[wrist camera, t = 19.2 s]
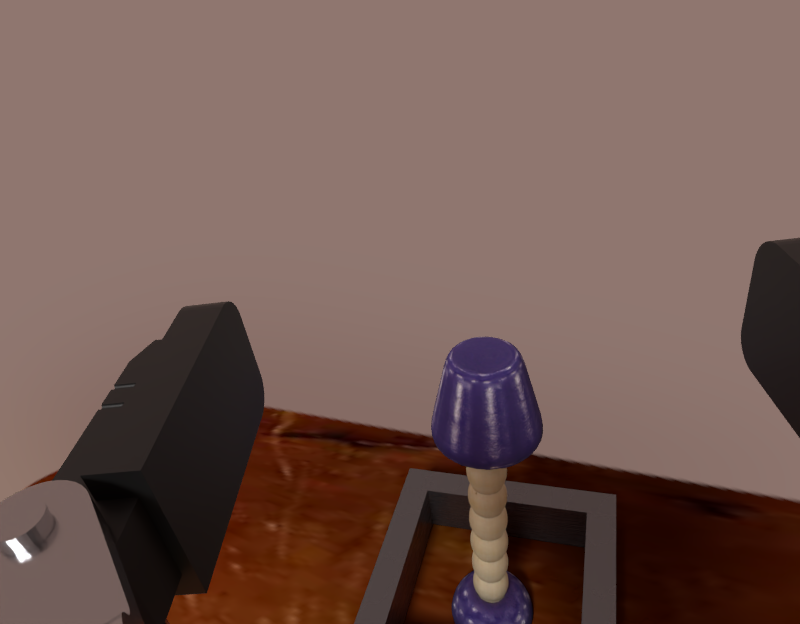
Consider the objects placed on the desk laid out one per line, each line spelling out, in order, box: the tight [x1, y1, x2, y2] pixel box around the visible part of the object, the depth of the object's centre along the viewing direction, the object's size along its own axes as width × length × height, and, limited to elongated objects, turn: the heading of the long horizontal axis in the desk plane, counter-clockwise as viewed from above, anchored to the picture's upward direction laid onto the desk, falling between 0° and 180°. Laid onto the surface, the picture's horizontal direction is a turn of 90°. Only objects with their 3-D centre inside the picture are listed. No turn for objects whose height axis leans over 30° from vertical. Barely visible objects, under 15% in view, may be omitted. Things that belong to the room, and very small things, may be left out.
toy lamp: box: [431, 337, 543, 624], centre depth 28 cm, size 5×5×17 cm
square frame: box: [354, 468, 616, 624], centre depth 32 cm, size 12×12×3 cm
